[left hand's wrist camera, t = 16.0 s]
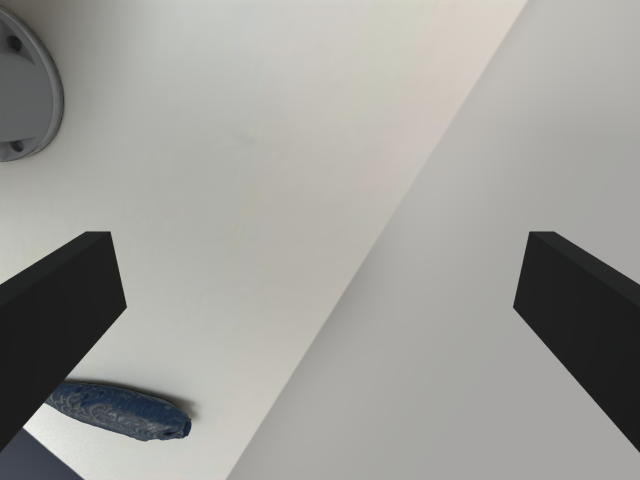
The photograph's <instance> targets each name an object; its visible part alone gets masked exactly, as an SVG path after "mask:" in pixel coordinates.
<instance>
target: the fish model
mask: <svg viewBox="0 0 640 480" xmlns="http://www.w3.org/2000/svg"><path fill="white" fill-rule="evenodd" d="M44 403H46V404H48V405H50V406H51V407H53V408H55V409H56V410H58V411H59V412H61V413H63V414H65V415H67V416H69V417H71V418H73V419H76V420H78V421H80V422H83V423H86V424H90V425H92V426H96V427H99V428H103V429H105V430H109V431H112V432H116V433H119V434H124V435H126V436H129V437H132V438H135V439H137V440H141V441H148V440H153V439H160V440H169V439H174V438H177V439H180V438H184V437H185V436H188V434H189V432H190V430H191V419H190V418H189V417H188V415H187V414H186V413H185V412H184V411H183V410H181V409H179V408H177V407H175V406H174V405H173V404H171V403H170V402H168V401H165V400H163V399H160V398H156V397H153V396H149V395H147V394H142V393H139V392H136V391H132V390H128V389H122V388H118V387H112V386H106V385H98V384H87V383H76V384H73V383H61V384H60V385H59V386H58V387H57V388H56V389H55V390H54V392H53V393H52V394H51V395H50V396H49V397H48V398H47V400H46V401H45V402H44Z"/></svg>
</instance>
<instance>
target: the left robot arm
mask: <svg viewBox="0 0 640 480" xmlns="http://www.w3.org/2000/svg"><path fill="white" fill-rule="evenodd" d="M62 113H63V92H62V86H61V81H60V78H59V75H58V72H57V69H56V67H55V64H54V62H53V60H52V58H51V56H50V54H49V53H48V51H47V49H46V48H45V46H44V45H43V43H42V42H41V41H40V39H39V38H38V37H37V36H36V34H35V33H34V32H33V31H32V30H31V29H30V28H29V27H28V26H27V25H26V24H25V23H24V22H23V21H22V20H20V19H19V18H18V17H17V16H15V15H14V14H13V13H11V12H10V11H8V10H7V9H5V8H3V7H1V6H0V162H8V161H13V160H17V159H21V158H25V157H28V156H31V155H33V154H35V153H37V152H39V151H40V150H42V149H43V148H44V147H45V146H46V145H47V144H48V143H49V142H50V141H51V140H52V139H53V137H54V136H55V134H56V132H57V130H58V128H59V126H60V122H61V119H62ZM126 308H127V305H126V301H125V296H124V291H123V287H122V282H121V278H120V273H119V268H118V264H117V259H116V255H115V250H114V245H113V241H112V236H111V232H84V233H83V234H81V235H80V236H78V237H76V238H75V239H73V240H72V241H70V242H68V243H67V244H65V245H63V246H62V247H60V248H59V249H57V250H55V251H54V252H52V253H51V254H49V255H47V256H46V257H44V258H42V259H41V260H39V261H38V262H36V263H34V264H33V265H31V266H30V267H28V268H26V269H25V270H23V271H22V272H20V273H18V274H17V275H15V276H13V277H12V278H10V279H9V280H7V281H5V282H4V283H2V284H1V285H0V452H1V451H2V450H3V449H4V448H5V447H6V445H7V444H8V443H9V442H10V441H11V440H12V439H13V437H14V436H15V435H16V434H17V433H18V432H19V430H20V429H21V428H22V427H23V426H24V425H25V424H26V423H27V421H28V420H29V419H30V418H31V417H32V416H33V415H34V413H35V412H36V411H37V410H38V409H39V408H40V406H41V405H42V404H43V403H44V402H45V401H46V400H47V398H48V397H49V396H50V395H51V394H52V393H53V392H54V390H55V389H56V388H57V387H58V386H59V385H60V384H61V382H62V381H63V380H64V379H65V378H66V377H67V376H68V374H69V373H70V372H71V371H72V370H73V369H74V368H75V366H76V365H77V364H78V363H79V362H80V361H81V360H82V358H83V357H84V356H85V355H86V354H87V353H88V352H89V350H90V349H91V348H92V347H93V346H94V345H95V344H96V342H97V341H98V340H99V339H100V338H101V337H102V335H103V334H104V333H105V332H106V331H107V330H108V329H109V327H110V326H111V325H112V324H113V323H114V322H115V321H116V319H117V318H118V317H119V316H120V315H121V314H122V313H123V311H124V310H125V309H126ZM513 308H514V309H515V310H516V311H517V313H518V314H519V315H520V316H521V317H522V318H523V319H524V321H525V322H526V323H527V324H528V325H529V326H530V327H531V329H532V330H533V331H534V332H535V333H536V334H537V335H538V337H539V338H540V339H541V340H542V341H543V342H544V344H545V345H546V346H547V347H548V348H549V349H550V350H551V352H552V353H553V354H554V355H555V356H556V357H557V358H558V360H559V361H560V362H561V363H562V364H563V365H564V366H565V368H566V369H567V370H568V371H569V372H570V373H571V374H572V376H573V377H574V378H575V379H576V380H577V381H578V382H579V384H580V385H581V386H582V387H583V388H584V389H585V390H586V392H587V393H588V394H589V395H590V396H591V397H592V398H593V400H594V401H595V402H596V403H597V404H598V405H599V406H600V408H601V409H602V410H603V411H604V412H605V413H606V415H607V416H608V417H609V418H610V419H611V420H612V421H613V422H614V424H615V425H616V426H617V427H618V428H619V429H620V431H621V432H622V433H623V434H624V435H625V436H626V437H627V439H628V440H629V441H630V442H631V443H632V444H633V445H634V447H635V448H636V449H637V450H638V451H639V452H640V285H639V284H638V283H636V282H635V281H633V280H631V279H630V278H628V277H627V276H625V275H623V274H622V273H620V272H618V271H617V270H615V269H614V268H612V267H610V266H609V265H607V264H606V263H604V262H602V261H601V260H599V259H598V258H596V257H594V256H593V255H591V254H589V253H588V252H586V251H585V250H583V249H581V248H580V247H578V246H577V245H575V244H573V243H572V242H570V241H568V240H567V239H565V238H564V237H562V236H560V235H559V234H557V233H556V232H529V236H528V241H527V245H526V250H525V255H524V259H523V264H522V269H521V273H520V278H519V282H518V287H517V291H516V296H515V301H514V305H513Z"/></svg>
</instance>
